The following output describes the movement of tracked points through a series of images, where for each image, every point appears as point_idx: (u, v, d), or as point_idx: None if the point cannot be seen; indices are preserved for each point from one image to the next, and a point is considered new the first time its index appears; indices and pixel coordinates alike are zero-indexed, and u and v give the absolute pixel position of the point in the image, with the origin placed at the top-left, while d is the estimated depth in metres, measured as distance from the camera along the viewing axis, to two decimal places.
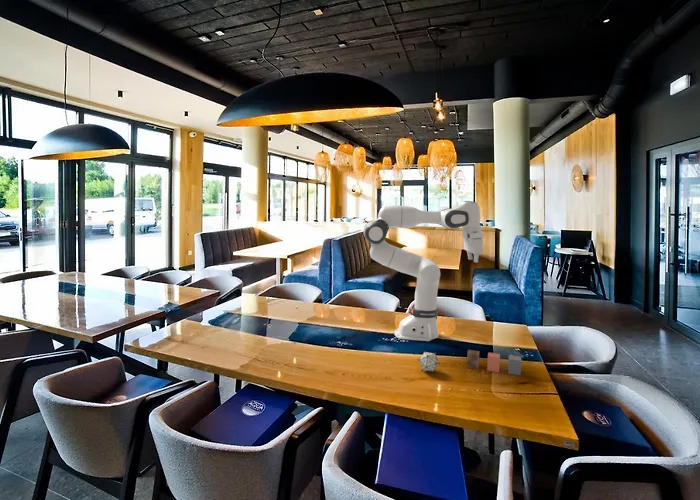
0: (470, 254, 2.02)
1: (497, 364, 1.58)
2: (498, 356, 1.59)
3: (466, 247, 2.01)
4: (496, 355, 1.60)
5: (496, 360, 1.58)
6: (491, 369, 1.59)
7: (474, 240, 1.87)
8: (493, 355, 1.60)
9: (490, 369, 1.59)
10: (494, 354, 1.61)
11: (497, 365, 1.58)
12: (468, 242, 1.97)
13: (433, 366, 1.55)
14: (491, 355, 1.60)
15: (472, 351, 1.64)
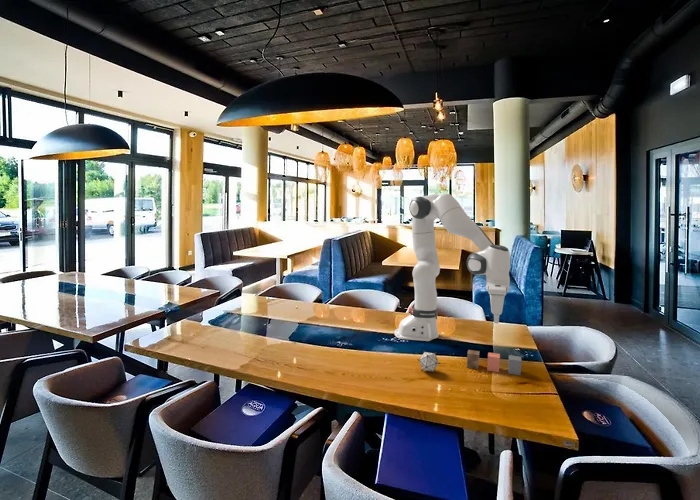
0: None
1: (497, 364, 1.58)
2: (499, 356, 1.59)
3: None
4: (496, 355, 1.60)
5: (496, 360, 1.58)
6: (491, 369, 1.59)
7: (493, 296, 1.50)
8: (493, 355, 1.60)
9: (490, 369, 1.59)
10: (494, 354, 1.61)
11: (497, 365, 1.58)
12: None
13: (433, 366, 1.55)
14: (491, 355, 1.60)
15: (472, 351, 1.64)
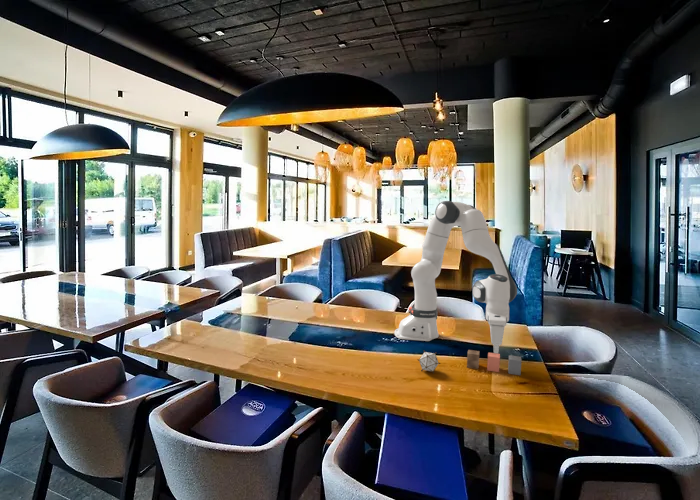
0: None
1: (497, 364, 1.58)
2: (499, 356, 1.59)
3: None
4: (496, 355, 1.60)
5: (496, 360, 1.58)
6: (491, 369, 1.59)
7: (493, 327, 1.51)
8: (493, 355, 1.60)
9: (490, 369, 1.59)
10: (494, 354, 1.61)
11: (497, 365, 1.58)
12: None
13: (433, 366, 1.55)
14: (491, 355, 1.60)
15: (472, 351, 1.64)
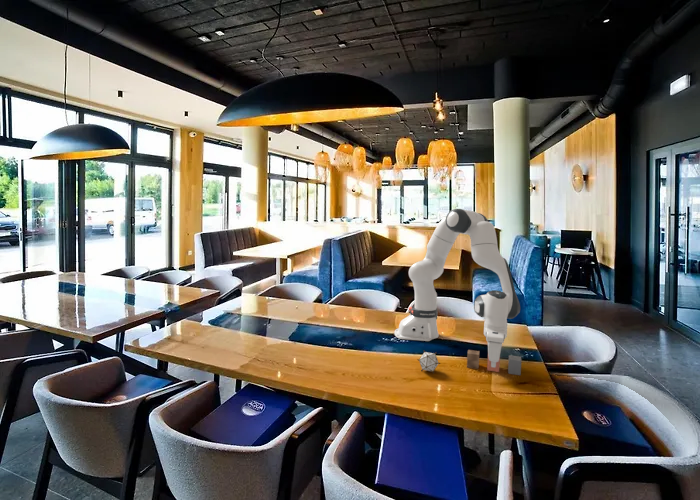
0: None
1: (497, 364, 1.58)
2: None
3: None
4: None
5: None
6: (491, 369, 1.59)
7: (490, 344, 1.52)
8: None
9: (490, 369, 1.59)
10: None
11: (497, 365, 1.58)
12: None
13: (433, 366, 1.55)
14: None
15: (472, 351, 1.64)
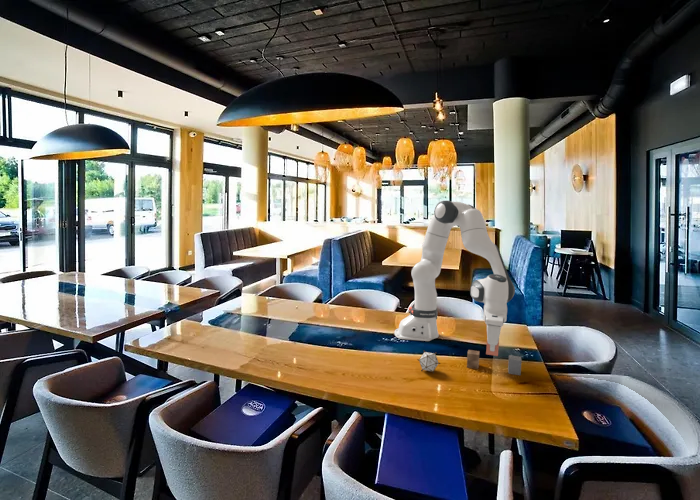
0: None
1: (496, 348, 1.57)
2: None
3: None
4: None
5: None
6: (490, 353, 1.59)
7: (489, 327, 1.51)
8: None
9: (489, 353, 1.59)
10: None
11: (496, 349, 1.57)
12: None
13: (433, 366, 1.55)
14: None
15: (472, 351, 1.64)
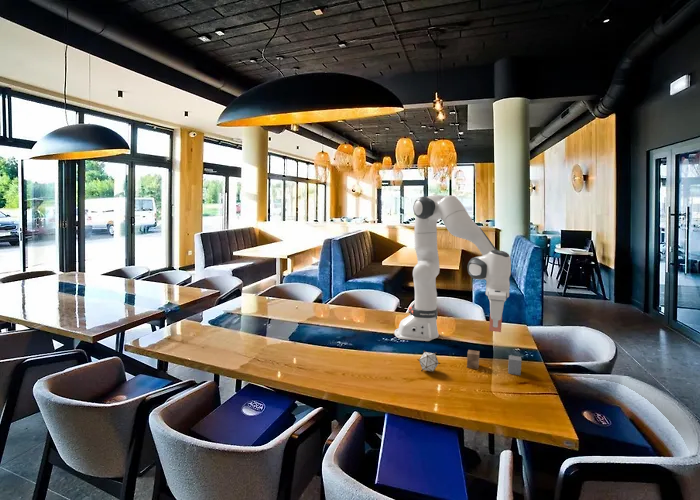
0: None
1: (499, 324, 1.56)
2: None
3: None
4: None
5: (498, 320, 1.56)
6: (493, 329, 1.57)
7: (492, 302, 1.50)
8: None
9: (492, 329, 1.57)
10: None
11: (499, 325, 1.56)
12: None
13: (433, 366, 1.55)
14: None
15: (472, 351, 1.64)
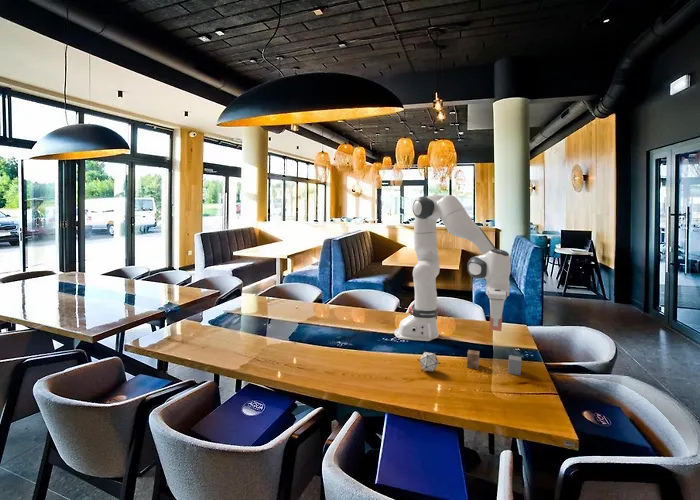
0: None
1: (499, 323, 1.56)
2: None
3: None
4: None
5: None
6: (493, 328, 1.57)
7: (492, 301, 1.50)
8: None
9: (492, 328, 1.57)
10: None
11: (499, 324, 1.56)
12: None
13: (433, 366, 1.55)
14: None
15: (472, 351, 1.64)
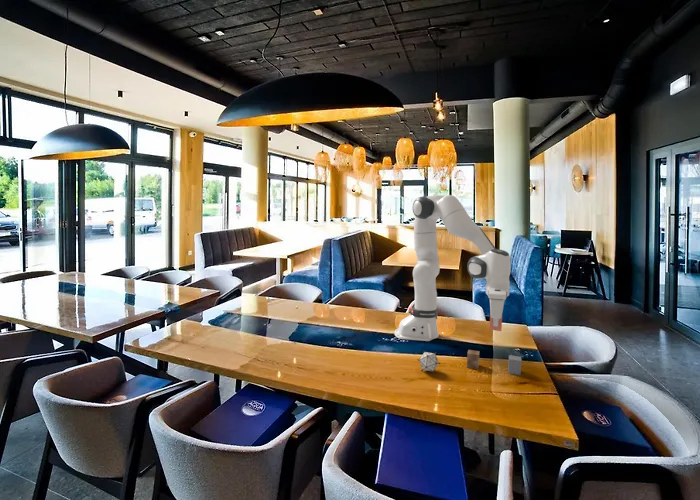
0: None
1: (499, 323, 1.56)
2: None
3: None
4: None
5: None
6: (493, 328, 1.57)
7: (492, 301, 1.50)
8: None
9: (492, 328, 1.57)
10: None
11: (499, 324, 1.56)
12: None
13: (433, 366, 1.55)
14: None
15: (472, 351, 1.64)
